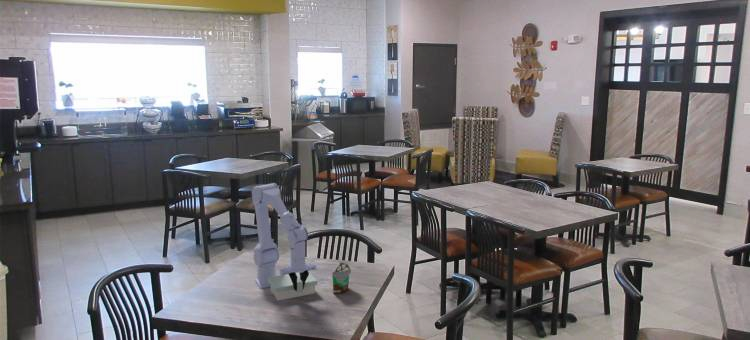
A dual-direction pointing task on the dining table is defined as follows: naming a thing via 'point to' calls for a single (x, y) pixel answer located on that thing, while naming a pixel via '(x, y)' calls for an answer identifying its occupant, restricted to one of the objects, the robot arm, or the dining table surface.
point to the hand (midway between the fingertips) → (298, 289)
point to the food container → (341, 278)
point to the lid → (290, 283)
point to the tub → (292, 293)
